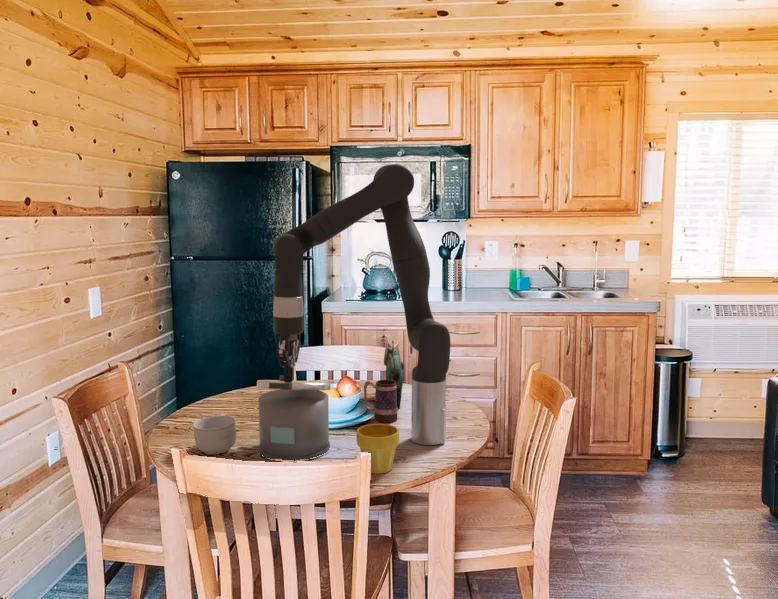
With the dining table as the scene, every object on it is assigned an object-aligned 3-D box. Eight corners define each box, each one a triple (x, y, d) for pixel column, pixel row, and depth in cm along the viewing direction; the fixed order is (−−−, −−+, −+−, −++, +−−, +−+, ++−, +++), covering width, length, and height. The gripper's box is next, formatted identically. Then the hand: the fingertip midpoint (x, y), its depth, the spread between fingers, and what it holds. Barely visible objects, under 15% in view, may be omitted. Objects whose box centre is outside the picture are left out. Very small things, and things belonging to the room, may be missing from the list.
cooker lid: (338, 388, 173) (338, 377, 173) (316, 391, 152) (317, 378, 152) (271, 385, 176) (272, 374, 177) (241, 387, 155) (242, 375, 156)
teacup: (226, 459, 160) (225, 429, 159) (186, 456, 162) (185, 426, 161) (247, 440, 174) (247, 412, 172) (210, 438, 175) (209, 409, 174)
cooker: (338, 437, 176) (337, 388, 174) (318, 465, 156) (318, 410, 155) (274, 433, 179) (273, 385, 177) (247, 460, 160) (245, 406, 158)
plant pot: (347, 470, 153) (347, 431, 152) (372, 457, 162) (372, 420, 160) (383, 480, 147) (383, 440, 146) (407, 466, 156) (407, 428, 155)
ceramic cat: (383, 392, 221) (383, 336, 218) (401, 392, 221) (402, 336, 218) (386, 410, 201) (386, 348, 198) (406, 409, 201) (407, 348, 199)
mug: (397, 416, 195) (398, 378, 194) (397, 423, 188) (397, 384, 186) (364, 415, 195) (364, 377, 194) (362, 423, 188) (362, 383, 187)
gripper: (294, 318, 152) (295, 389, 154) (310, 311, 165) (310, 376, 167) (264, 317, 153) (265, 387, 155) (282, 310, 166) (283, 374, 168)
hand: (288, 381), depth 161 cm, fingers closed
